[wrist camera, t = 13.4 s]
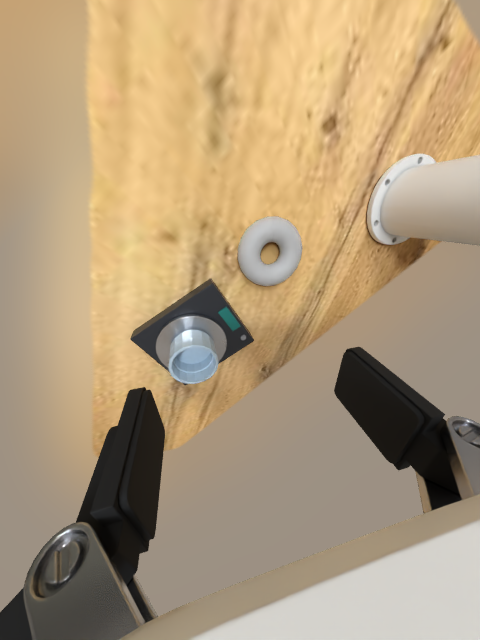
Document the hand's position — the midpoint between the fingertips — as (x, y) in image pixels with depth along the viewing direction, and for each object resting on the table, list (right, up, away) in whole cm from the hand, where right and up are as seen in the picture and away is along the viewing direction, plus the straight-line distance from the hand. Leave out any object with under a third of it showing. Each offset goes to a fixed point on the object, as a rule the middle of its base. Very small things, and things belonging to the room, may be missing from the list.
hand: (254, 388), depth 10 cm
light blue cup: (-8, -1, +23) cm, 24 cm away
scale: (-8, +1, +26) cm, 27 cm away
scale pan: (-8, -1, +23) cm, 25 cm away
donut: (+3, +14, +22) cm, 27 cm away
